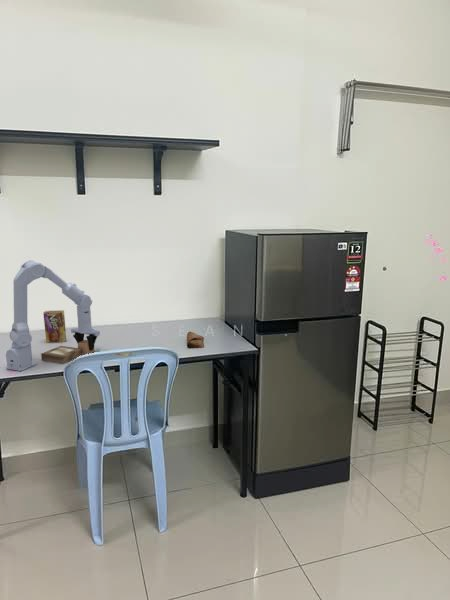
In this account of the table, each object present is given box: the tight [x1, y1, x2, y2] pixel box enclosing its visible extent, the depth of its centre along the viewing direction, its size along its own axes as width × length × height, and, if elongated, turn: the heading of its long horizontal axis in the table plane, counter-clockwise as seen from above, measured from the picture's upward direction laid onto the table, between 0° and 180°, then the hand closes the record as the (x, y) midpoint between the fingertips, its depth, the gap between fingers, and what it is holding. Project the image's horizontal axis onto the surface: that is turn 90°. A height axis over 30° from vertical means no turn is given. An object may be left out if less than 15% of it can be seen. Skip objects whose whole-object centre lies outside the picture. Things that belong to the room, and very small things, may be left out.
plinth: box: [40, 345, 84, 365], centre depth 195 cm, size 12×12×3 cm
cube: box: [77, 339, 96, 355], centre depth 202 cm, size 5×5×5 cm
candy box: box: [43, 309, 67, 344], centre depth 217 cm, size 9×4×15 cm, turn 96°
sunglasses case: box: [186, 331, 205, 350], centre depth 216 cm, size 18×7×7 cm
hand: (86, 349), depth 202 cm, fingers closed on cube, 5 cm apart
